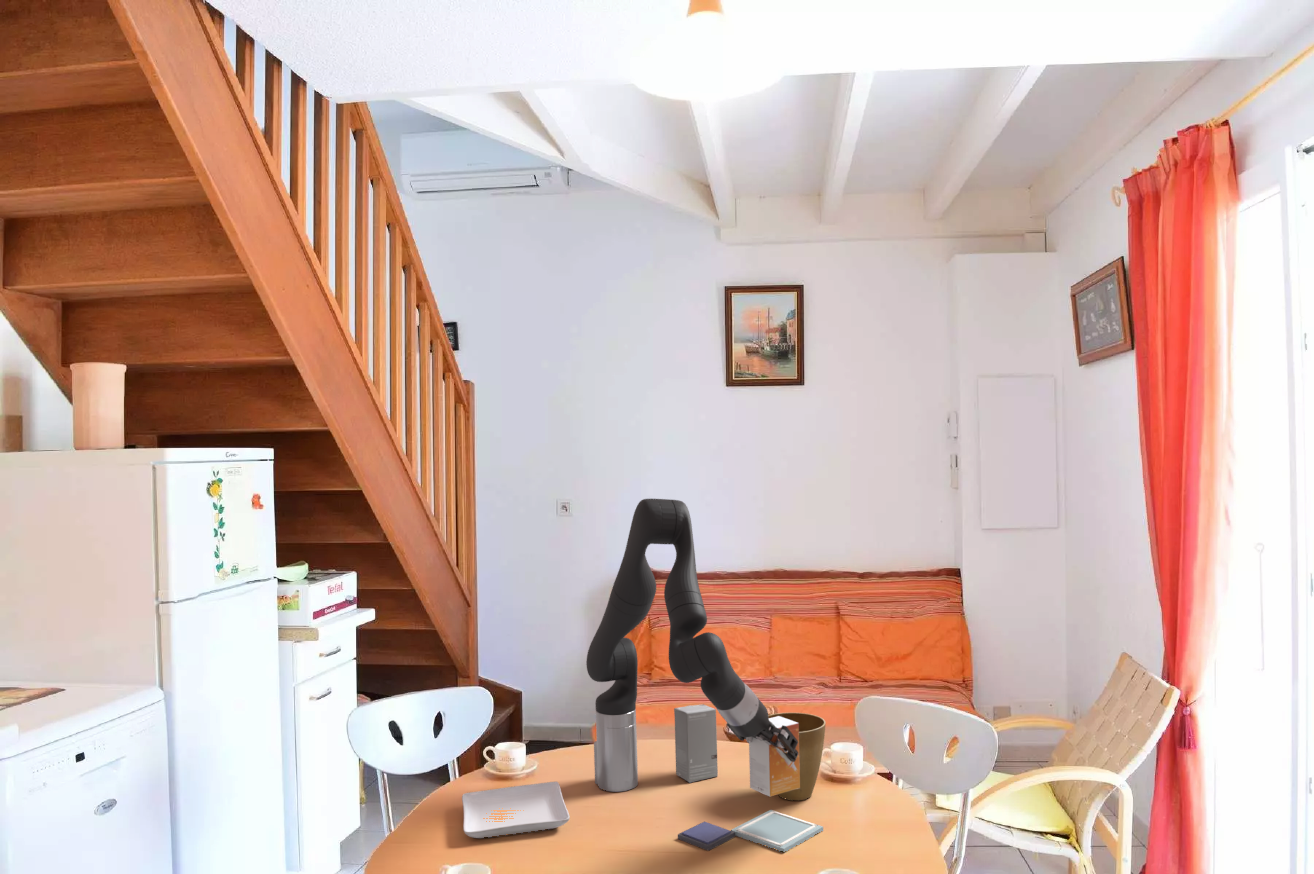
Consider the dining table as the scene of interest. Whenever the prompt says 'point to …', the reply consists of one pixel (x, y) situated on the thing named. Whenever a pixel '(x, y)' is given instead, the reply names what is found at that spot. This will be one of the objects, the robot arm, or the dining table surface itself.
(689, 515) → the robot arm
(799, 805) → the dining table surface
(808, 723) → the plant pot
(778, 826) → the board
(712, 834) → the ink pad
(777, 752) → the small box
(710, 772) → the skincare box
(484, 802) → the salad plate
